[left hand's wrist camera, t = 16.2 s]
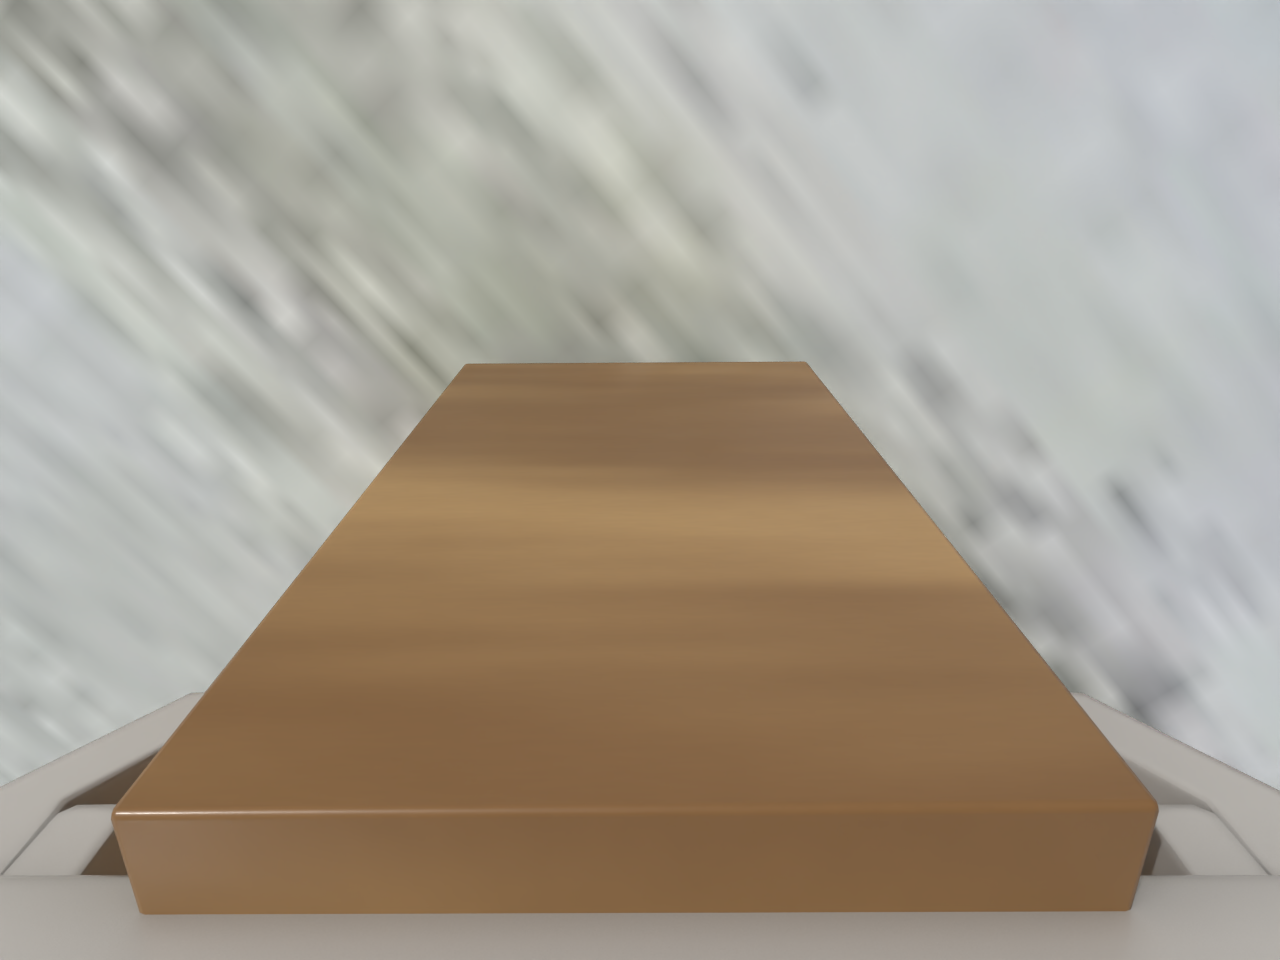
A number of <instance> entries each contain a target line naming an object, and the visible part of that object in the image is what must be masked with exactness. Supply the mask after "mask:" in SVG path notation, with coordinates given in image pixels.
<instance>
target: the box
mask: <svg viewBox="0 0 1280 960" xmlns="http://www.w3.org/2000/svg"><path fill="white" fill-rule="evenodd" d="M1158 813H1159V808H1158V804H1157V801H1156V799H1155V798H1154V797H1153V796H1152V794H1151V793H1150V792H1149V791H1148V789H1147V788H1146V787H1145V786H1144V784H1143V783H1142V782H1141V781H1140V779H1139V778H1138V777H1137V776H1136V774H1135V773H1134V772H1133V771H1132V769H1131V768H1130V767H1129V766H1128V764H1127V763H1126V762H1125V761H1124V759H1123V758H1122V757H1121V756H1120V754H1119V753H1118V752H1117V751H1116V749H1115V748H1114V747H1113V746H1112V744H1111V743H1110V742H1109V741H1108V739H1107V738H1106V737H1105V736H1104V734H1103V733H1102V732H1101V731H1100V729H1099V728H1098V727H1097V726H1096V724H1095V723H1094V722H1093V721H1092V719H1091V718H1090V717H1089V716H1088V714H1087V713H1086V712H1085V711H1084V709H1083V708H1082V707H1081V706H1080V704H1079V703H1078V702H1077V701H1076V699H1075V698H1074V697H1073V696H1072V694H1071V693H1070V692H1069V691H1068V689H1067V688H1066V687H1065V686H1064V684H1063V683H1062V682H1061V681H1060V679H1059V678H1058V677H1057V676H1056V674H1055V673H1054V672H1053V671H1052V669H1051V668H1050V667H1049V666H1048V664H1047V663H1046V662H1045V661H1044V659H1043V658H1042V657H1041V656H1040V654H1039V653H1038V652H1037V651H1036V649H1035V648H1034V647H1033V646H1032V644H1031V643H1030V642H1029V640H1028V639H1027V638H1026V637H1025V635H1024V634H1023V633H1022V632H1021V630H1020V629H1019V628H1018V627H1017V625H1016V624H1015V623H1014V622H1013V620H1012V619H1011V618H1010V617H1009V615H1008V614H1007V613H1006V612H1005V610H1004V609H1003V608H1002V607H1001V605H1000V604H999V603H998V602H997V600H996V599H995V598H994V597H993V595H992V594H991V593H990V592H989V590H988V589H987V588H986V587H985V585H984V584H983V583H982V582H981V580H980V579H979V578H978V577H977V575H976V574H975V573H974V572H973V570H972V569H971V568H970V567H969V565H968V564H967V563H966V562H965V560H964V559H963V558H962V557H961V555H960V554H959V553H958V552H957V550H956V549H955V548H954V547H953V545H952V544H951V543H950V542H949V540H948V539H947V538H946V537H945V535H944V534H943V533H942V532H941V530H940V529H939V528H938V527H937V525H936V524H935V523H934V522H933V520H932V519H931V518H930V517H929V515H928V514H927V513H926V512H925V510H924V509H923V508H922V507H921V505H920V504H919V503H918V502H917V500H916V499H915V498H914V497H913V495H912V494H911V493H910V492H909V490H908V489H907V488H906V487H905V485H904V484H903V483H902V482H901V480H900V479H899V478H898V477H897V475H896V474H895V473H894V471H893V470H892V469H891V468H890V466H889V465H888V464H887V463H886V461H885V460H884V459H883V458H882V456H881V455H880V454H879V453H878V451H877V450H876V449H875V448H874V446H873V445H872V444H871V443H870V441H869V440H868V439H867V438H866V436H865V435H864V434H863V433H862V431H861V430H860V429H859V428H858V426H857V425H856V424H855V423H854V421H853V420H852V419H851V418H850V416H849V415H848V414H847V413H846V411H845V410H844V409H843V408H842V406H841V405H840V404H839V403H838V401H837V400H836V399H835V398H834V396H833V395H832V394H831V393H830V391H829V390H828V389H827V388H826V386H825V385H824V384H823V383H822V381H821V380H820V379H819V378H818V376H817V375H816V374H815V373H814V371H813V370H812V369H811V368H810V366H809V365H808V364H807V363H806V362H676V363H519V364H466V365H464V367H463V368H462V369H461V370H460V372H459V373H458V374H457V375H456V377H455V378H454V379H453V380H452V382H451V383H450V384H449V385H448V387H447V388H446V389H445V391H444V392H443V393H442V394H441V396H440V397H439V398H438V399H437V401H436V402H435V403H434V404H433V406H432V407H431V408H430V409H429V411H428V412H427V413H426V415H425V416H424V417H423V418H422V420H421V421H420V422H419V423H418V425H417V426H416V427H415V428H414V430H413V431H412V432H411V433H410V435H409V436H408V437H407V438H406V440H405V441H404V442H403V444H402V445H401V446H400V447H399V449H398V450H397V451H396V452H395V454H394V455H393V456H392V457H391V459H390V460H389V461H388V462H387V464H386V465H385V466H384V468H383V469H382V470H381V471H380V473H379V474H378V475H377V476H376V478H375V479H374V480H373V481H372V483H371V484H370V485H369V486H368V488H367V489H366V490H365V492H364V493H363V494H362V495H361V497H360V498H359V499H358V500H357V502H356V503H355V504H354V505H353V507H352V508H351V509H350V510H349V512H348V513H347V514H346V515H345V517H344V518H343V519H342V521H341V522H340V523H339V524H338V526H337V527H336V528H335V529H334V531H333V532H332V533H331V534H330V536H329V537H328V538H327V539H326V541H325V542H324V543H323V545H322V546H321V547H320V548H319V550H318V551H317V552H316V553H315V555H314V556H313V557H312V558H311V560H310V561H309V562H308V563H307V565H306V566H305V567H304V568H303V570H302V571H301V572H300V574H299V575H298V576H297V577H296V579H295V580H294V581H293V582H292V584H291V585H290V586H289V587H288V589H287V590H286V591H285V592H284V594H283V595H282V596H281V598H280V599H279V600H278V601H277V603H276V604H275V605H274V606H273V608H272V609H271V610H270V611H269V613H268V614H267V615H266V616H265V618H264V619H263V620H262V622H261V623H260V624H259V625H258V627H257V628H256V629H255V630H254V632H253V633H252V634H251V635H250V637H249V638H248V639H247V640H246V642H245V643H244V644H243V645H242V647H241V648H240V649H239V651H238V652H237V653H236V654H235V656H234V657H233V658H232V659H231V661H230V662H229V663H228V664H227V666H226V667H225V668H224V669H223V671H222V672H221V673H220V675H219V676H218V677H217V678H216V680H215V681H214V682H213V683H212V685H211V686H210V687H209V688H208V690H207V691H206V692H205V693H204V695H203V696H202V697H201V698H200V700H199V701H198V702H197V704H196V705H195V706H194V707H193V709H192V710H191V711H190V712H189V714H188V715H187V716H186V717H185V719H184V720H183V721H182V722H181V724H180V725H179V726H178V728H177V729H176V730H175V731H174V733H173V734H172V735H171V736H170V738H169V739H168V740H167V741H166V743H165V744H164V745H163V746H162V748H161V749H160V750H159V752H158V753H157V754H156V755H155V757H154V758H153V759H152V760H151V762H150V763H149V764H148V765H147V767H146V768H145V769H144V770H143V772H142V773H141V774H140V775H139V777H138V778H137V779H136V781H135V782H134V783H133V784H132V786H131V787H130V788H129V789H128V791H127V792H126V793H125V794H124V796H123V797H122V798H121V799H120V801H119V802H118V803H117V805H116V806H115V807H114V808H113V811H112V814H111V822H112V825H113V828H114V831H115V834H116V838H117V841H118V844H119V847H120V851H121V854H122V857H123V860H124V864H125V867H126V870H127V873H128V877H129V880H130V883H131V886H132V890H133V893H134V896H135V899H136V902H137V906H138V909H139V912H140V913H142V914H145V915H177V914H479V913H779V912H1079V911H1128V910H1130V909H1131V907H1132V903H1133V900H1134V896H1135V893H1136V890H1137V886H1138V883H1139V879H1140V876H1141V872H1142V869H1143V865H1144V862H1145V858H1146V855H1147V851H1148V848H1149V844H1150V841H1151V837H1152V834H1153V830H1154V827H1155V824H1156V820H1157V817H1158Z"/></svg>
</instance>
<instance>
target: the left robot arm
mask: <svg viewBox="0 0 1280 960" xmlns="http://www.w3.org/2000/svg"><path fill="white" fill-rule="evenodd" d="M238 651H239V650H238ZM234 656H235V655H234ZM230 661H231V660H230ZM226 666H227V665H226ZM226 666H225V667H226ZM222 671H223V670H222ZM222 671H221V672H222ZM219 675H220V674H219ZM219 675H218V676H219ZM218 676H217V677H218ZM215 680H216V679H215ZM215 680H214V681H215ZM214 681H213V682H214ZM211 685H212V684H211ZM211 685H210V686H211ZM210 686H209V687H210ZM207 690H208V689H207ZM207 690H206V691H207ZM206 691H205V692H206ZM1071 694H1072V696H1073V697H1074V698H1075V699H1076V701H1077V702H1078V703H1079V704H1080V706H1081V707H1082V708H1083V709H1084V711H1085V712H1086V713H1087V714H1088V716H1089V717H1090V718H1091V719H1092V721H1093V722H1094V723H1095V724H1096V726H1097V727H1098V728H1099V729H1100V731H1101V732H1102V733H1103V734H1104V736H1105V737H1106V738H1107V739H1108V741H1109V742H1110V743H1111V744H1112V746H1113V747H1114V748H1115V749H1116V751H1117V752H1118V753H1119V754H1120V756H1121V757H1122V758H1123V759H1124V761H1125V762H1126V763H1127V764H1128V766H1129V767H1130V768H1131V769H1132V771H1133V772H1134V773H1135V774H1136V776H1137V777H1138V778H1139V779H1140V781H1141V782H1142V783H1143V784H1144V786H1145V787H1146V788H1147V789H1148V791H1149V792H1150V793H1151V794H1152V796H1153V797H1154V798H1155V799H1156V801H1157V804H1158V808H1159V813H1158V817H1157V820H1156V824H1155V827H1154V830H1153V834H1152V837H1151V841H1150V844H1149V848H1148V851H1147V855H1146V858H1145V862H1144V865H1143V869H1142V872H1141V876H1140V879H1139V883H1138V886H1137V890H1136V893H1135V896H1134V900H1133V903H1132V907H1131V909H1130V910H1128V911H1079V912H779V913H479V914H177V915H145V914H142V913H140V912H139V909H138V906H137V902H136V899H135V896H134V893H133V890H132V886H131V883H130V880H129V877H128V873H127V870H126V867H125V864H124V860H123V857H122V854H121V851H120V847H119V844H118V841H117V838H116V834H115V831H114V828H113V825H112V822H111V814H112V811H113V808H114V807H115V806H116V805H117V803H118V802H119V801H120V799H121V798H122V797H123V796H124V794H125V793H126V792H127V791H128V789H129V788H130V787H131V786H132V784H133V783H134V782H135V781H136V779H137V778H138V777H139V775H140V774H141V773H142V772H143V770H144V769H145V768H146V767H147V765H148V764H149V763H150V762H151V760H152V759H153V758H154V757H155V755H156V754H157V753H158V752H159V750H160V749H161V748H162V746H163V745H164V744H165V743H166V741H167V740H168V739H169V738H170V736H171V735H172V734H173V733H174V731H175V730H176V729H177V728H178V726H179V725H180V724H181V722H182V721H183V720H184V719H185V717H186V716H187V715H188V714H189V712H190V711H191V710H192V709H193V707H194V706H195V705H196V704H197V702H198V701H199V700H200V698H201V697H202V696H203V695H204V693H190V694H188V695H186V696H184V697H182V698H180V699H178V700H176V701H174V702H172V703H170V704H168V705H166V706H164V707H162V708H160V709H158V710H156V711H153V712H151V713H149V714H147V715H145V716H143V717H141V718H139V719H137V720H135V721H133V722H131V723H129V724H127V725H125V726H123V727H121V728H119V729H117V730H115V731H113V732H111V733H109V734H107V735H105V736H103V737H101V738H99V739H97V740H95V741H93V742H90V743H88V744H86V745H84V746H82V747H80V748H78V749H76V750H74V751H72V752H70V753H68V754H66V755H64V756H62V757H60V758H58V759H56V760H54V761H52V762H50V763H48V764H46V765H44V766H42V767H40V768H38V769H36V770H34V771H32V772H30V773H28V774H25V775H23V776H21V777H19V778H17V779H15V780H13V781H11V782H9V783H7V784H5V785H3V786H1V787H0V960H1280V791H1279V790H1277V789H1275V788H1273V787H1271V786H1269V785H1267V784H1265V783H1263V782H1261V781H1259V780H1257V779H1255V778H1253V777H1251V776H1249V775H1247V774H1245V773H1243V772H1241V771H1239V770H1237V769H1235V768H1233V767H1231V766H1229V765H1227V764H1225V763H1223V762H1221V761H1219V760H1217V759H1215V758H1213V757H1211V756H1209V755H1206V754H1204V753H1202V752H1200V751H1198V750H1196V749H1194V748H1192V747H1190V746H1188V745H1186V744H1184V743H1182V742H1180V741H1178V740H1176V739H1174V738H1172V737H1170V736H1168V735H1166V734H1164V733H1162V732H1160V731H1158V730H1156V729H1154V728H1152V727H1150V726H1148V725H1146V724H1144V723H1142V722H1140V721H1138V720H1136V719H1134V718H1132V717H1130V716H1128V715H1126V714H1124V713H1122V712H1120V711H1118V710H1116V709H1114V708H1112V707H1110V706H1108V705H1106V704H1104V703H1102V702H1100V701H1098V700H1096V699H1094V698H1092V697H1090V696H1088V695H1086V694H1084V693H1071Z"/></svg>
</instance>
